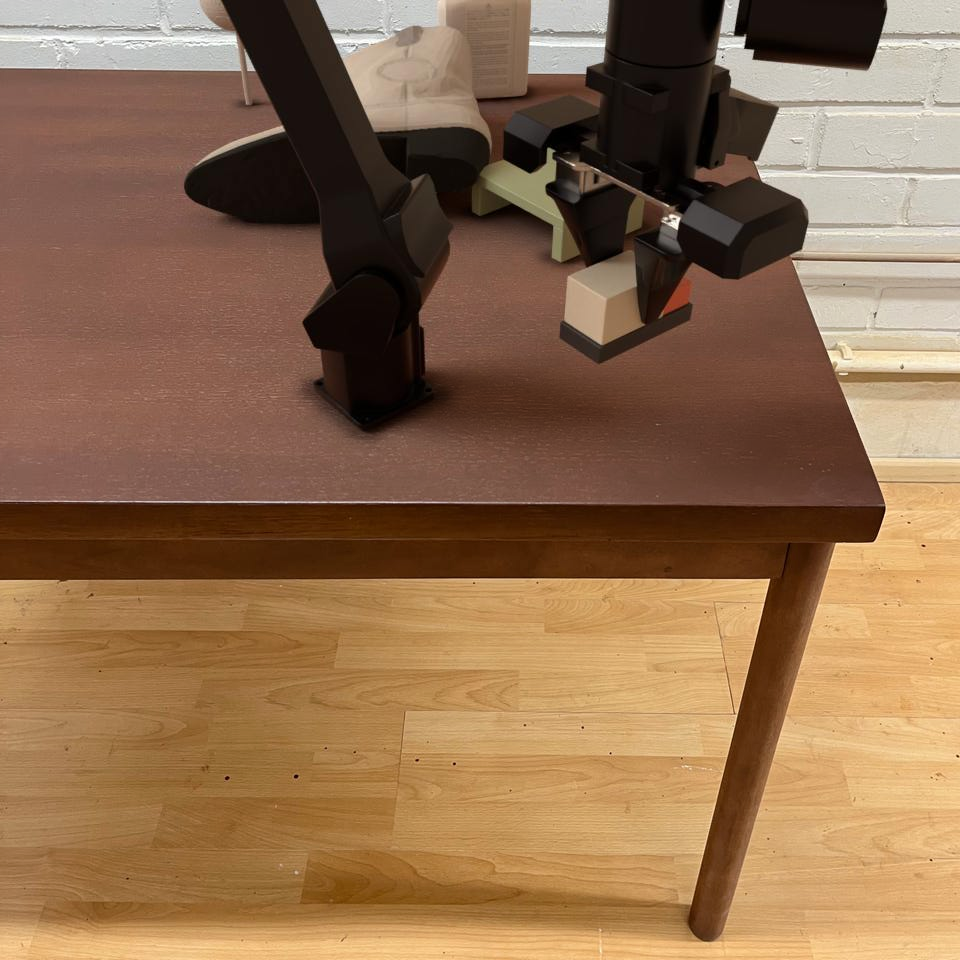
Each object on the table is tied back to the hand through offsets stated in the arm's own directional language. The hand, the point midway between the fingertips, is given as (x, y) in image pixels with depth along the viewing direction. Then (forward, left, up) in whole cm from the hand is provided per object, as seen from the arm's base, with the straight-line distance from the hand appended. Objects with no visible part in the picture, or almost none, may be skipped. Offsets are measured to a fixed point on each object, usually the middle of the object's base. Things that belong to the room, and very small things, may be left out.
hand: (628, 308), depth 62 cm
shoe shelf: (+18, +25, -10) cm, 32 cm away
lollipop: (+10, +66, -10) cm, 67 cm away
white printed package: (+32, +52, -10) cm, 62 cm away
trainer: (0, 0, -2) cm, 2 cm away
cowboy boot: (+10, +46, -9) cm, 48 cm away
